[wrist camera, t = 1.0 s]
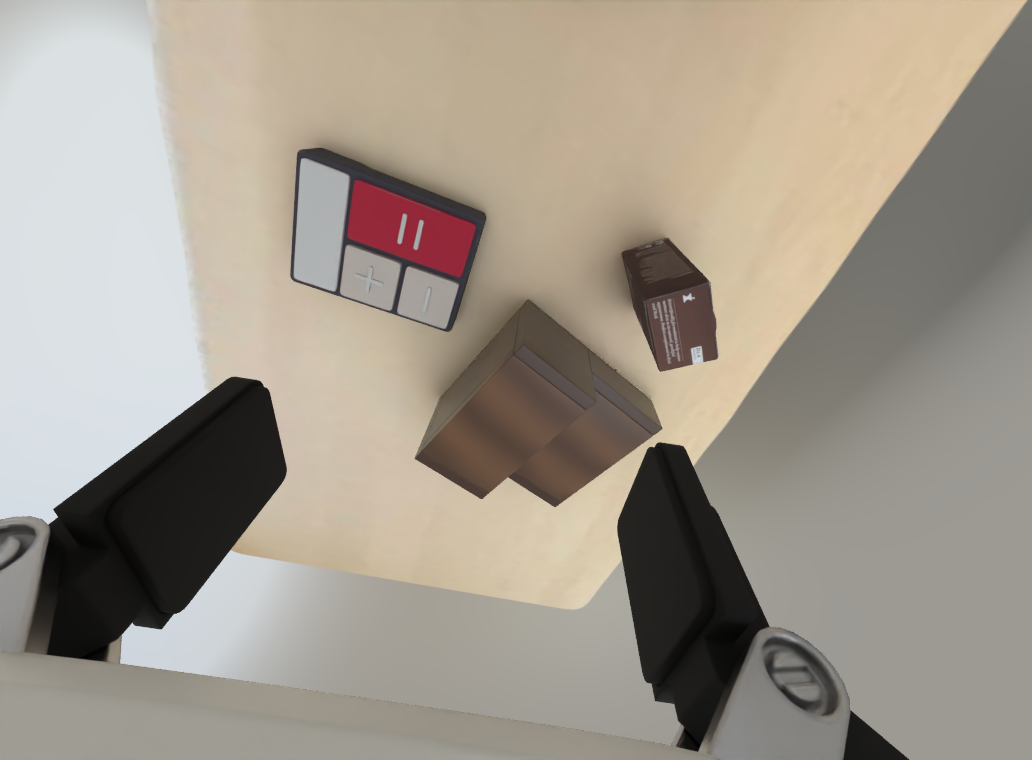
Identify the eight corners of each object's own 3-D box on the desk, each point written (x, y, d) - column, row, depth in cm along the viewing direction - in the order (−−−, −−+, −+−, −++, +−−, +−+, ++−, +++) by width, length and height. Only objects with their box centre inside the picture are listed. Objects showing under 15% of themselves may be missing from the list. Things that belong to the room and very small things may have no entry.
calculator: (449, 337, 38) (284, 283, 35) (456, 318, 41) (307, 268, 39) (484, 222, 32) (291, 147, 29) (488, 212, 36) (317, 145, 33)
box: (617, 253, 36) (644, 299, 26) (668, 236, 35) (717, 277, 25) (630, 312, 39) (659, 375, 29) (677, 299, 38) (725, 359, 28)
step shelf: (528, 299, 39) (522, 344, 30) (651, 400, 44) (676, 464, 35) (439, 399, 46) (414, 458, 37) (554, 476, 51) (555, 544, 43)
